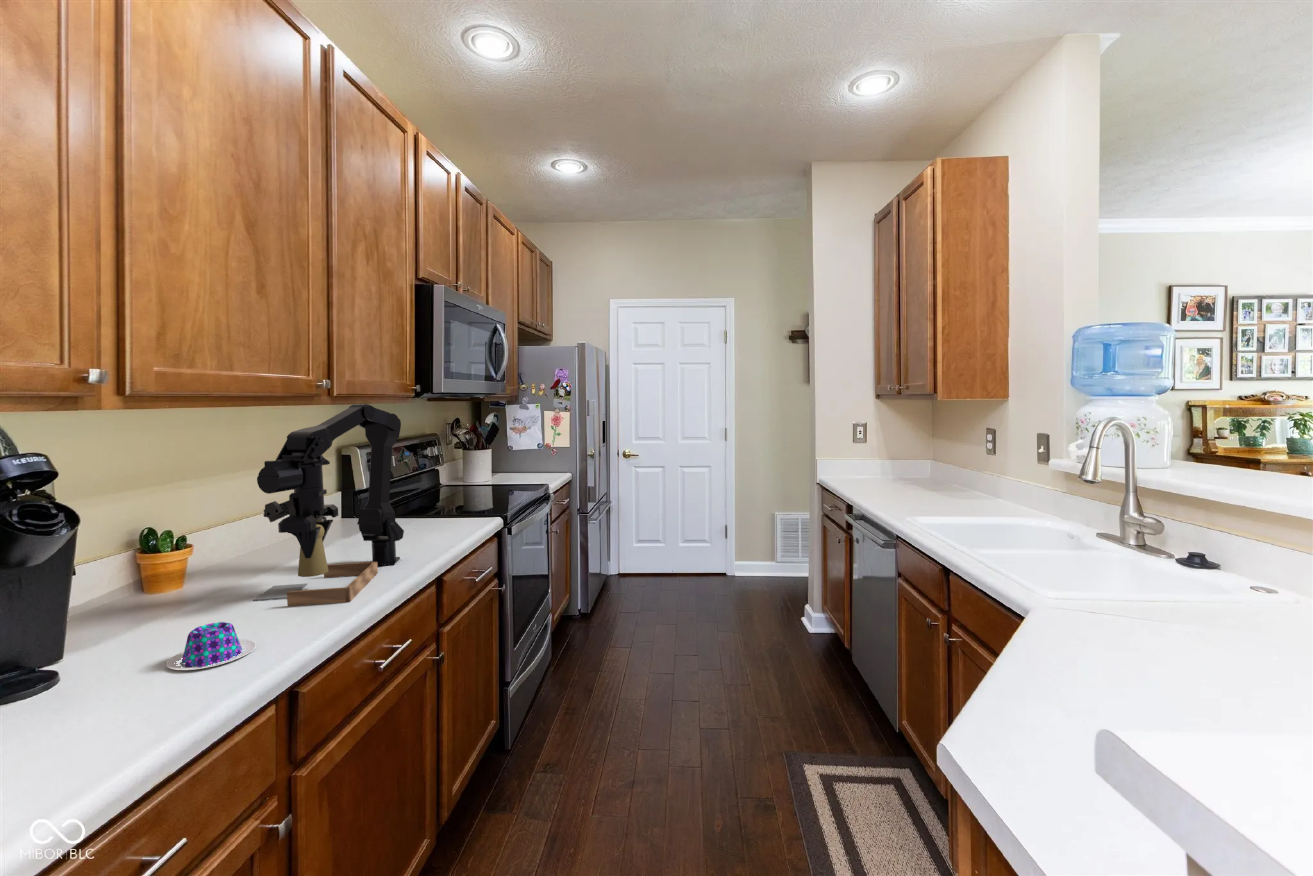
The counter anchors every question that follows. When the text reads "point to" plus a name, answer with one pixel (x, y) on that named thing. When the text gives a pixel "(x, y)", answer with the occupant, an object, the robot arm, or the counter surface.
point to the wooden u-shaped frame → (336, 595)
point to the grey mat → (279, 591)
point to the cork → (314, 559)
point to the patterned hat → (211, 646)
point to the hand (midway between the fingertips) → (312, 555)
